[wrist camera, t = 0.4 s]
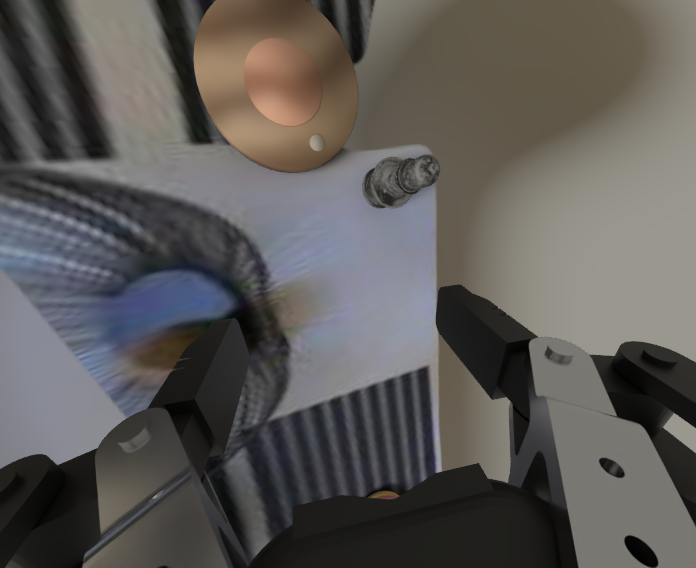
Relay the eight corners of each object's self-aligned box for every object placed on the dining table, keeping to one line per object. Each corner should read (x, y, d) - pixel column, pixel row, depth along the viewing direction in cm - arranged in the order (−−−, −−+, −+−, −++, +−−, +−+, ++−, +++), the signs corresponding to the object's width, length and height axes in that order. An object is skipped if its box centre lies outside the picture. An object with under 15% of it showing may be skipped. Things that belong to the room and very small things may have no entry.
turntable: (157, 38, 22) (148, 23, 21) (303, -28, 25) (306, -45, 23) (265, 199, 28) (265, 197, 26) (376, 132, 30) (382, 126, 29)
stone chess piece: (397, 162, 34) (464, 128, 22) (401, 207, 35) (466, 195, 24) (357, 166, 32) (407, 131, 21) (363, 213, 33) (414, 203, 22)
